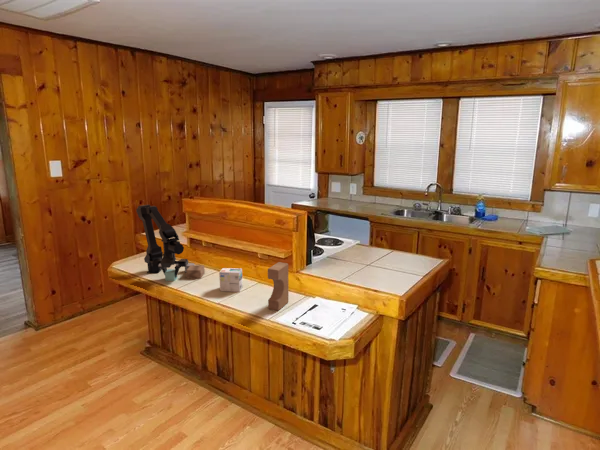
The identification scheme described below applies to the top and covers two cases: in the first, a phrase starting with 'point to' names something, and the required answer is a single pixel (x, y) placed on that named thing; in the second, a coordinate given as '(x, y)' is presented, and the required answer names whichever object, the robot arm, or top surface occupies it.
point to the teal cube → (170, 275)
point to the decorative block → (278, 285)
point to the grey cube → (188, 266)
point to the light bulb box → (231, 279)
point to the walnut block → (195, 271)
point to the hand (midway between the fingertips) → (171, 277)
